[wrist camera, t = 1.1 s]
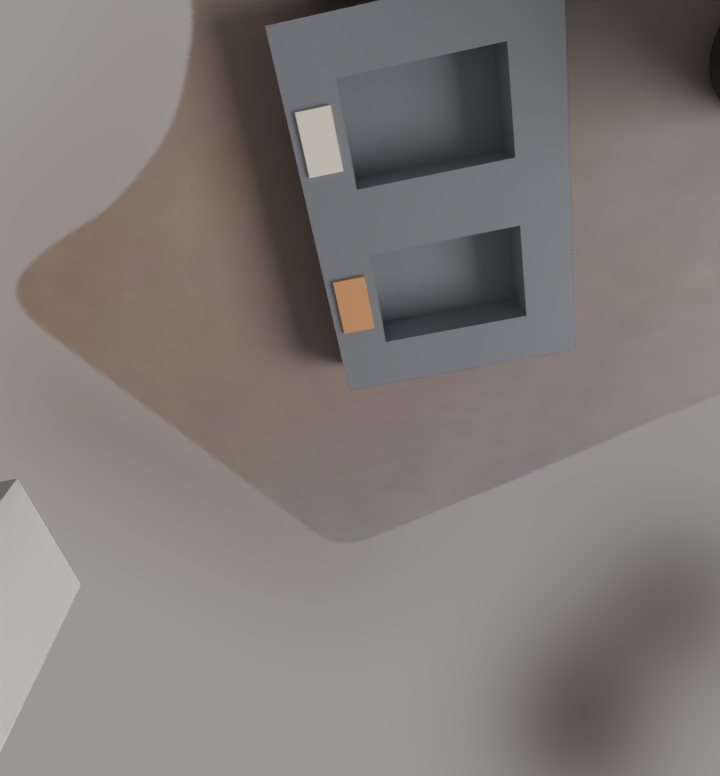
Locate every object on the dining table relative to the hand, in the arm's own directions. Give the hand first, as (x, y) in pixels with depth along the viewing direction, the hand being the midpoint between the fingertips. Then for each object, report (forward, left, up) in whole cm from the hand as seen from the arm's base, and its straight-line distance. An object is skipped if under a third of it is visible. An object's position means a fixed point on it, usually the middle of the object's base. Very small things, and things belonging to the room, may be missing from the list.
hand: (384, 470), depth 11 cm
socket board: (+2, +4, -29) cm, 29 cm away
